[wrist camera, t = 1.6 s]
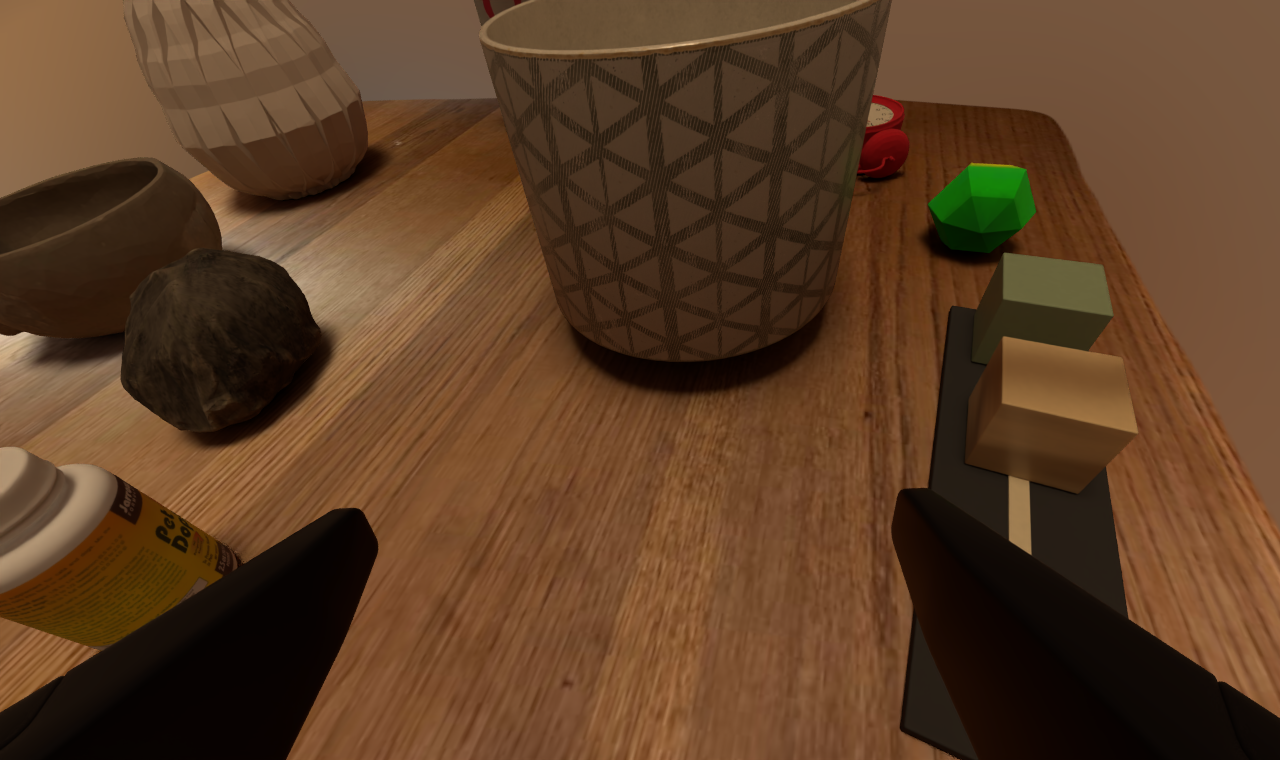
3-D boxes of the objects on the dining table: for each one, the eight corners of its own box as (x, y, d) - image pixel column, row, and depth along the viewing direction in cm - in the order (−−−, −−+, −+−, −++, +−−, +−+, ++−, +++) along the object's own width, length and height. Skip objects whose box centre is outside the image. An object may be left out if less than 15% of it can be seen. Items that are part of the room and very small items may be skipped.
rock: (154, 468, 30) (16, 324, 24) (198, 377, 38) (104, 253, 32) (336, 411, 33) (254, 271, 27) (339, 338, 41) (277, 220, 35)
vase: (376, 198, 56) (165, -202, 35) (199, 234, 55) (-129, -156, 34) (402, 138, 70) (263, -174, 49) (261, 166, 70) (56, -141, 48)
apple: (1016, 164, 30) (1003, 109, 35) (909, 221, 34) (913, 164, 40) (1064, 250, 32) (1046, 185, 37) (959, 292, 37) (956, 229, 42)
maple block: (1078, 494, 22) (1139, 433, 19) (964, 463, 24) (1001, 402, 21) (1070, 421, 25) (1123, 357, 21) (968, 398, 26) (1002, 335, 23)
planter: (564, 419, 30) (444, 83, 17) (566, 254, 43) (499, -5, 30) (876, 371, 29) (999, -9, 16) (780, 219, 43) (807, -56, 30)
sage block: (1066, 381, 26) (1114, 315, 23) (970, 361, 28) (1003, 298, 25) (1061, 329, 29) (1103, 264, 26) (974, 314, 31) (1003, 251, 28)
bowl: (12, 400, 38) (-153, 294, 31) (67, 293, 49) (-44, 198, 42) (254, 310, 43) (160, 201, 35) (253, 232, 54) (181, 137, 47)
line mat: (1151, 850, 15) (1166, 850, 14) (899, 730, 18) (904, 726, 17) (1080, 334, 30) (1086, 325, 29) (948, 312, 32) (952, 304, 32)
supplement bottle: (265, 579, 25) (73, 464, 17) (145, 689, 22) (-148, 605, 14) (215, 529, 27) (29, 409, 20) (102, 620, 24) (-167, 519, 17)
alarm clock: (902, 90, 50) (936, 103, 38) (889, 156, 54) (917, 187, 42) (797, 95, 53) (798, 110, 41) (791, 158, 56) (790, 188, 44)
